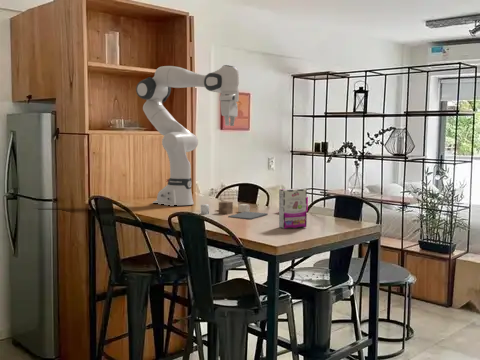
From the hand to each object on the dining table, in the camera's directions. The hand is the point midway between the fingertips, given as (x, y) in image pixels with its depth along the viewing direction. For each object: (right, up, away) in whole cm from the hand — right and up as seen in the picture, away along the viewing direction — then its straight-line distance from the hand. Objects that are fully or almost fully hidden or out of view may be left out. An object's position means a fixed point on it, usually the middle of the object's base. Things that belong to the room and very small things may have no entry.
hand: (229, 125), depth 274 cm
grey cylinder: (-12, -44, -10) cm, 47 cm away
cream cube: (+7, -44, 0) cm, 44 cm away
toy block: (+34, -44, +5) cm, 55 cm away
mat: (+9, -45, -13) cm, 48 cm away
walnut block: (-2, -44, -6) cm, 45 cm away
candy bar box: (+28, -48, -42) cm, 69 cm away
